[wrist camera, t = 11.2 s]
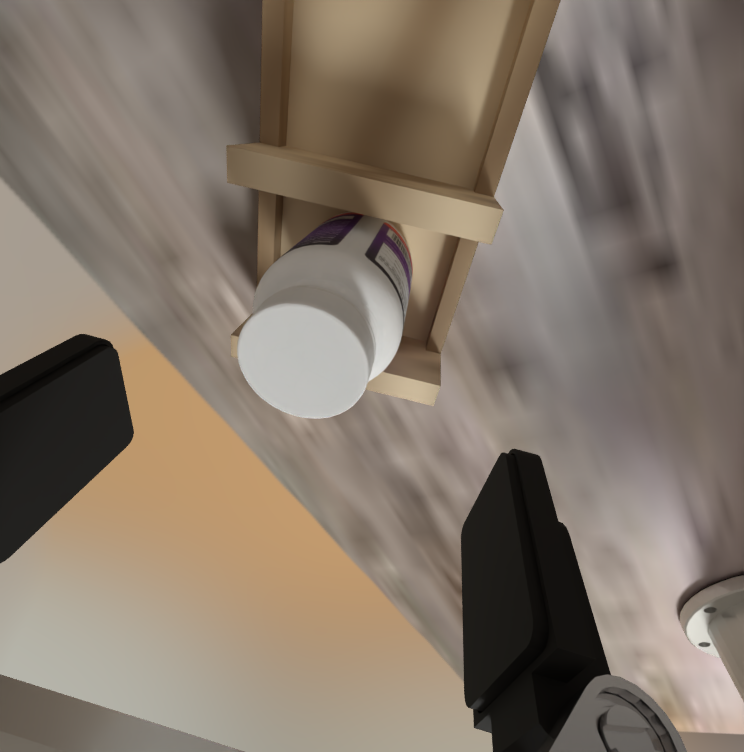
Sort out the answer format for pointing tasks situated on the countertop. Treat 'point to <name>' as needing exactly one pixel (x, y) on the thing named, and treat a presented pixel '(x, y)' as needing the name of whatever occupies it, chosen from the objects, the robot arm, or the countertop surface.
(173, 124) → the countertop surface
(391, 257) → the pill bottle
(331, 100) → the rack
